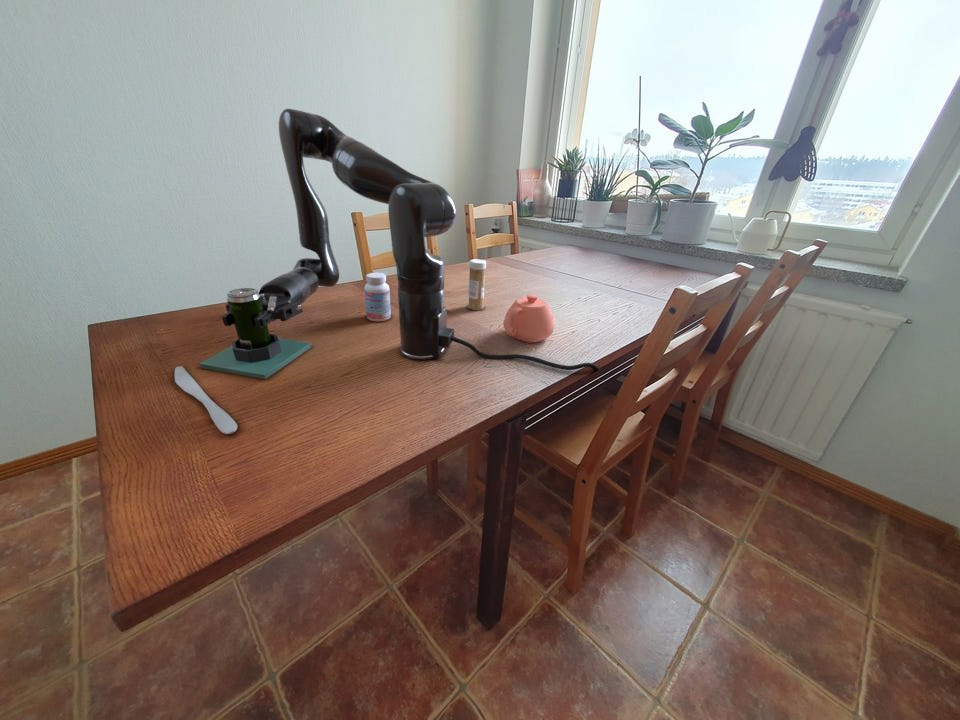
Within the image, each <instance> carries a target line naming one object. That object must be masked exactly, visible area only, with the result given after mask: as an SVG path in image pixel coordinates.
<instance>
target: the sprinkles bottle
mask: <svg viewBox="0 0 960 720" xmlns="http://www.w3.org/2000/svg"><path fill="white" fill-rule="evenodd" d="M468 267H469V278H468V304H467V308H468V309H470V310H473V311H481V310H483V309H484V306H485V305H484V301H485V300H484V298H485V283H486V282H485V279H486V278H485V277H486V269H487V261H486V260H485V259H479V258H475V259H470V260H469V262H468Z"/></svg>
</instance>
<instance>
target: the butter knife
mask: <svg viewBox="0 0 960 720" xmlns="http://www.w3.org/2000/svg"><path fill="white" fill-rule="evenodd" d="M174 382H175V383H176V385H177V386H178V387H180V389H182V390H183V391H184V392H186V393H187V394H188V395H191V396H193V398H195V399H196V400H198V401H199V402H200V403H202V405H203V406H204V408H206V410H207V412H208V413H209V416H210V418H211V420H212V422H213V423H214V425H215V426H216V427H217V429H218V430H219V431H220V432H221V434H225V435H231V434H234V433H235V432H237V430H238V424H237V422H236V421H235V420H234V419H233V418H232V417H231V416H230V415H229V414H228V413H227V412H226V410H224V409H223V408H221V407H220V406H218V405H217V404H216V402H214V401H213V399H211V398H210V397H209V396H208V395H207V393H205V391H204V390H203V389H202V387H201V386H200V384H198V383H197V381H196V380H195V379H194V378H193V377H192V375H190V373H189V372H188V371H187V370H186V369H185V368H184V367H183V366H182V365H180V366H176V367H175V368H174Z"/></svg>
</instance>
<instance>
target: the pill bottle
mask: <svg viewBox="0 0 960 720" xmlns="http://www.w3.org/2000/svg"><path fill="white" fill-rule="evenodd" d="M365 278H366V282H367V283H366V284H365V285H364V286H363V287H364V289H363V291H364V300H365V313H366V318H367V320H369V321H371V322H385V321H388V320H389V319H390V318H391V317H392V311H391V293H390V291H391V290H390V285H389V284H388V283H387V275H386V273H383V272H369V273H367V274H366V275H365Z"/></svg>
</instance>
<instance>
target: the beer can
mask: <svg viewBox="0 0 960 720" xmlns="http://www.w3.org/2000/svg"><path fill="white" fill-rule="evenodd" d="M226 296H227V297H226V301H227V303H228V305H229V308H230V312H231V315H232V319H233V322H234V324H233V325H234V328H235V332H236V335H237V339H239V343H240V346H241V349H246V350H251V349H257V348H263V347H266V346H268V345H270V344H271V343H272V342H271V338H270V334H271V333H270V331H269V326H268V325H266V326H264V327H263V328H256V325H255V321H254V318H255V317H256V316H258V315H259V314H261V313H262V312H264V309H263V305H262V301H261V297H260V295H259V290H258V289H256V288H253V287H240V288H235V289H232V290H229V291H228V292H227V293H226Z"/></svg>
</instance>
